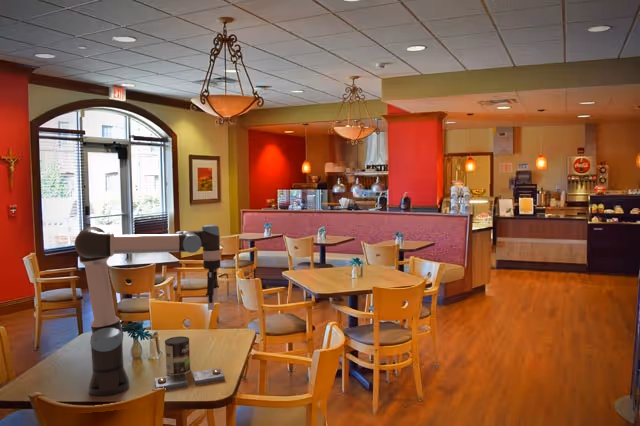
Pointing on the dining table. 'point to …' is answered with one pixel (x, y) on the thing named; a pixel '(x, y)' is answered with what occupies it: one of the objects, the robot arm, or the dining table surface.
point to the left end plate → (171, 382)
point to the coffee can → (177, 355)
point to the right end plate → (208, 376)
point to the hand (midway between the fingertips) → (213, 305)
